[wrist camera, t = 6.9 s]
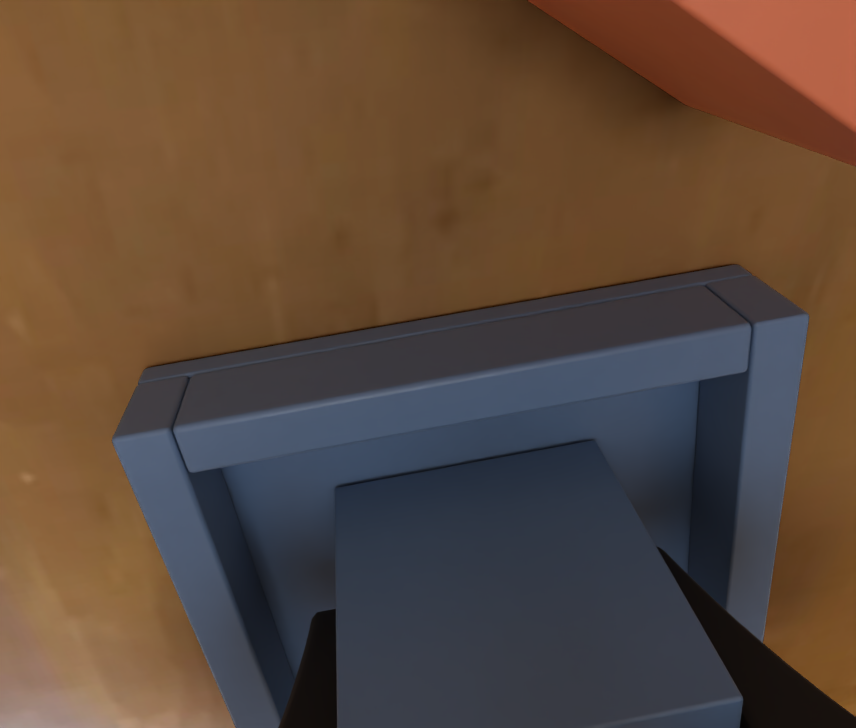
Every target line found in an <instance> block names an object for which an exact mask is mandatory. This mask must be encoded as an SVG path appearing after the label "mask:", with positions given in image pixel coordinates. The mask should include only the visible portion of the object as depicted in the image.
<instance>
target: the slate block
mask: <svg viewBox="0 0 856 728" xmlns="http://www.w3.org/2000/svg"><path fill="white" fill-rule="evenodd" d="M334 495H335V584H336V673H337V728H740V720H741V713H742V705H743V697H742V695H741V693H740V691H739V690H738V688H737V686H736V685H735V683H734V681H733V679H732V678H731V676H730V674H729V672H728V671H727V669H726V667H725V665H724V664H723V662H722V660H721V658H720V657H719V655H718V653H717V651H716V650H715V648H714V646H713V645H712V643H711V641H710V639H709V638H708V636H707V634H706V632H705V631H704V629H703V627H702V625H701V624H700V622H699V620H698V618H697V617H696V615H695V613H694V611H693V610H692V608H691V606H690V604H689V603H688V601H687V599H686V598H685V596H684V594H683V592H682V591H681V589H680V587H679V585H678V584H677V582H676V580H675V578H674V577H673V575H672V573H671V571H670V570H669V568H668V566H667V564H666V563H665V561H664V559H663V558H662V556H661V554H660V552H659V551H658V549H657V547H656V545H655V544H654V542H653V540H652V538H651V537H650V535H649V533H648V531H647V530H646V528H645V526H644V524H643V523H642V521H641V519H640V517H639V516H638V514H637V512H636V511H635V509H634V507H633V505H632V504H631V502H630V500H629V498H628V497H627V495H626V493H625V491H624V490H623V488H622V486H621V484H620V483H619V481H618V479H617V477H616V476H615V474H614V472H613V471H612V469H611V467H610V465H609V464H608V462H607V460H606V458H605V457H604V455H603V453H602V451H601V450H600V448H599V446H598V444H597V443H596V441H594V440H592V441H586V442H581V443H576V444H570V445H565V446H559V447H554V448H549V449H543V450H538V451H532V452H527V453H522V454H516V455H511V456H505V457H500V458H495V459H489V460H484V461H478V462H473V463H468V464H462V465H457V466H451V467H446V468H441V469H435V470H430V471H424V472H419V473H414V474H408V475H403V476H397V477H392V478H387V479H381V480H376V481H370V482H365V483H360V484H354V485H349V486H343V487H338V488H336V489H335V491H334Z"/></svg>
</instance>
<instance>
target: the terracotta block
mask: <svg viewBox="0 0 856 728" xmlns="http://www.w3.org/2000/svg"><path fill="white" fill-rule="evenodd" d="M527 1H529V2H530V3H532V4H533V5H535V6H536V7H538V8H539V9H541V10H542V11H544V12H545V13H547V14H548V15H550V16H552V17H553V18H555V19H556V20H558V21H559V22H561V23H562V24H564V25H565V26H567V27H568V28H570V29H571V30H573V31H574V32H576V33H577V34H579V35H580V36H582V37H583V38H585V39H586V40H588V41H589V42H591V43H592V44H594V45H595V46H597V47H598V48H600V49H601V50H603V51H604V52H606V53H607V54H609V55H610V56H612V57H614V58H615V59H617V60H618V61H620V62H621V63H623V64H624V65H626V66H627V67H629V68H630V69H632V70H633V71H635V72H636V73H638V74H639V75H641V76H642V77H644V78H645V79H647V80H648V81H650V82H651V83H653V84H654V85H656V86H657V87H659V88H660V89H662V90H663V91H665V92H666V93H668V94H669V95H671V96H673V97H674V98H676V99H677V100H679V101H680V102H682V103H683V104H685V105H687V106H689V107H692V108H695V109H698V110H701V111H703V112H706V113H709V114H712V115H714V116H717V117H720V118H723V119H726V120H728V121H731V122H734V123H737V124H739V125H742V126H745V127H748V128H750V129H753V130H756V131H759V132H762V133H764V134H767V135H770V136H773V137H775V138H778V139H781V140H784V141H787V142H789V143H792V144H795V145H798V146H800V147H803V148H806V149H809V150H811V151H814V152H817V153H820V154H823V155H825V156H828V157H831V158H834V159H836V160H839V161H842V162H845V163H847V164H850V165H853V166H856V0H527Z"/></svg>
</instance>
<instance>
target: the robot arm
mask: <svg viewBox="0 0 856 728" xmlns="http://www.w3.org/2000/svg"><path fill="white" fill-rule="evenodd" d="M657 549H658V551H659V552H660V554H661V556H662V558H663V559H664V561H665V563H666V564H667V566H668V568H669V570H670V571H671V573H672V575H673V577H674V578H675V580H676V582H677V584H678V585H679V587H680V589H681V591H682V592H683V594H684V596H685V598H686V599H687V601H688V603H689V604H690V606H691V608H692V610H693V611H694V613H695V615H696V617H697V618H698V620H699V622H700V624H701V625H702V627H703V629H704V631H705V632H706V634H707V636H708V638H709V639H710V641H711V643H712V645H713V646H714V648H715V650H716V651H717V653H718V655H719V657H720V658H721V660H722V662H723V664H724V665H725V667H726V669H727V671H728V672H729V674H730V676H731V678H732V679H733V681H734V683H735V685H736V686H737V688H738V690H739V691H740V693H741V695H742V697H743V705H742V713H741V720H740V728H856V717H855V716H854V715H852V714H851V713H850V712H848V711H847V710H846V709H844V708H843V707H842V706H840V705H839V704H838V703H836V702H835V701H834V700H832V699H831V698H830V697H828V696H827V695H826V694H824V693H823V692H822V691H821V690H819V689H818V688H817V687H816V686H814V685H813V684H812V683H811V682H809V681H808V680H807V679H806V678H804V677H803V676H802V675H801V674H799V673H798V672H797V671H795V670H794V669H793V668H792V667H791V666H789V665H788V664H787V663H786V662H785V661H783V660H782V659H781V658H780V657H779V656H777V655H776V654H775V653H774V652H773V651H771V650H770V649H769V648H768V647H767V646H766V645H765V644H763V643H762V642H761V641H760V640H759V639H758V638H757V637H755V636H754V635H753V634H752V633H751V632H750V631H749V630H747V629H746V628H745V627H744V626H743V625H742V624H740V623H739V622H738V621H737V620H736V619H735V618H734V617H733V616H732V615H731V614H729V613H728V612H727V611H726V610H725V609H724V608H723V607H722V606H721V605H720V604H719V603H718V602H716V601H715V600H714V599H713V598H712V597H711V596H710V595H709V594H708V593H707V592H706V591H705V590H704V589H703V588H702V587H701V586H700V585H698V584H697V583H696V582H695V581H694V580H693V579H692V578H691V577H690V576H689V575H688V574H687V573H686V572H685V571H684V570H683V569H682V568H681V567H680V566H679V565H678V564H677V563H676V562H675V561H674V560H673V559H672V558H671V557H670V556H669V555H668V554H667V553H666V552H665V551H664V550H662V549H661V548H659V547H657ZM279 728H337V673H336V609H332V610H326V611H321V612H317V613H316V614H315V615H314V617H313V618H312V620H311V624H310V629H309V633H308V637H307V641H306V645H305V649H304V652H303V656H302V659H301V663H300V666H299V670H298V673H297V676H296V679H295V682H294V685H293V688H292V691H291V694H290V697H289V700H288V703H287V706H286V708H285V711H284V714H283V717H282V719H281V722H280V725H279Z"/></svg>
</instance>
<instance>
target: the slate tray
mask: <svg viewBox="0 0 856 728" xmlns="http://www.w3.org/2000/svg"><path fill="white" fill-rule="evenodd" d="M808 322H809V315H808V313H807V312H805V311H804V310H802V309H801V308H800V307H798V306H797V305H795V304H794V303H792V302H791V301H790V300H788V299H787V298H785V297H784V296H782V295H781V294H780V293H778V292H777V291H775V290H774V289H773V288H771V287H770V286H768V285H767V284H765V283H764V282H763V281H761V280H760V279H758V278H757V277H755V276H752V274H751V273H750V272H748V271H747V270H745V269H744V268H742V267H741V266H740V265H730V266H725V267H719V268H713V269H708V270H702V271H696V272H691V273H685V274H679V275H673V276H668V277H662V278H656V279H651V280H645V281H639V282H634V283H628V284H622V285H617V286H611V287H605V288H600V289H594V290H588V291H583V292H577V293H571V294H565V295H560V296H554V297H548V298H543V299H537V300H531V301H526V302H520V303H514V304H509V305H503V306H497V307H492V308H486V309H480V310H474V311H469V312H463V313H457V314H452V315H446V316H440V317H435V318H429V319H423V320H418V321H412V322H406V323H401V324H395V325H389V326H384V327H378V328H372V329H366V330H361V331H355V332H349V333H344V334H338V335H332V336H327V337H321V338H315V339H310V340H304V341H298V342H293V343H287V344H281V345H275V346H270V347H264V348H258V349H253V350H247V351H241V352H236V353H230V354H224V355H219V356H213V357H207V358H202V359H196V360H190V361H184V362H179V363H173V364H167V365H162V366H156V367H150V368H146V369H145V370H144V371H143V373H142V375H141V377H140V379H139V381H138V386H137V387H136V389H135V391H134V393H133V395H132V397H131V399H130V401H129V403H128V406H127V408H126V410H125V412H124V414H123V416H122V418H121V420H120V423H119V425H118V427H117V429H116V431H115V433H114V435H113V437H112V443H113V445H114V448H115V450H116V452H117V455H118V457H119V459H120V461H121V464H122V466H123V468H124V471H125V473H126V475H127V478H128V480H129V482H130V485H131V487H132V489H133V491H134V494H135V496H136V498H137V501H138V503H139V505H140V508H141V510H142V512H143V515H144V517H145V519H146V521H147V524H148V526H149V528H150V531H151V533H152V535H153V538H154V540H155V542H156V545H157V547H158V549H159V552H160V554H161V556H162V558H163V561H164V563H165V565H166V568H167V570H168V572H169V575H170V577H171V579H172V582H173V584H174V586H175V588H176V591H177V593H178V595H179V598H180V600H181V602H182V605H183V607H184V609H185V612H186V614H187V616H188V618H189V621H190V623H191V625H192V628H193V630H194V632H195V635H196V637H197V639H198V642H199V644H200V646H201V649H202V651H203V653H204V655H205V658H206V660H207V662H208V665H209V667H210V669H211V672H212V674H213V676H214V679H215V681H216V683H217V685H218V688H219V690H220V692H221V695H222V697H223V699H224V702H225V704H226V706H227V709H228V711H229V713H230V715H231V718H232V720H233V722H234V725H235V727H236V728H279V725H280V722H281V719H282V717H283V714H284V711H285V708H286V706H287V703H288V700H289V697H290V694H291V691H292V688H293V685H294V682H295V679H296V676H297V673H298V670H299V666H300V663H301V659H302V656H303V652H304V649H305V645H306V641H307V637H308V633H309V629H310V624H311V620H312V618H313V617H314V615H315V614H316V613H317V612H321V611H326V610H332V609H336V584H335V495H334V491H335V489H336V488H338V487H343V486H349V485H354V484H360V483H365V482H370V481H376V480H381V479H387V478H392V477H397V476H403V475H408V474H414V473H419V472H424V471H430V470H435V469H441V468H446V467H451V466H457V465H462V464H468V463H473V462H478V461H484V460H489V459H495V458H500V457H505V456H511V455H516V454H522V453H527V452H532V451H538V450H543V449H549V448H554V447H559V446H565V445H570V444H576V443H581V442H586V441H592V440H594V441H596V443H597V444H598V446H599V448H600V450H601V451H602V453H603V455H604V457H605V458H606V460H607V462H608V464H609V465H610V467H611V469H612V471H613V472H614V474H615V476H616V477H617V479H618V481H619V483H620V484H621V486H622V488H623V490H624V491H625V493H626V495H627V497H628V498H629V500H630V502H631V504H632V505H633V507H634V509H635V511H636V512H637V514H638V516H639V517H640V519H641V521H642V523H643V524H644V526H645V528H646V530H647V531H648V533H649V535H650V537H651V538H652V540H653V542H654V544H655V545H656V547H659V548H661V549H662V550H664V551H665V552H666V553H667V554H668V555H669V556H670V557H671V558H672V559H673V560H674V561H675V562H676V563H677V564H678V565H679V566H680V567H681V568H682V569H683V570H684V571H685V572H686V573H687V574H688V575H689V576H690V577H691V578H692V579H693V580H694V581H695V582H696V583H697V584H698V585H700V586H701V587H702V588H703V589H704V590H705V591H706V592H707V593H708V594H709V595H710V596H711V597H712V598H713V599H714V600H715V601H716V602H718V603H719V604H720V605H721V606H722V607H723V608H724V609H725V610H726V611H727V612H728V613H729V614H731V615H732V616H733V617H734V618H735V619H736V620H737V621H738V622H739V623H740V624H742V625H743V626H744V627H745V628H746V629H747V630H749V631H750V632H751V633H752V634H753V635H754V636H755V637H757V638H758V639H759V640H760V641H761V642H762V643H763V638H764V631H765V624H766V617H767V610H768V603H769V596H770V589H771V582H772V575H773V568H774V561H775V554H776V547H777V540H778V533H779V525H780V518H781V511H782V504H783V497H784V490H785V483H786V476H787V469H788V462H789V455H790V448H791V441H792V434H793V427H794V420H795V413H796V406H797V399H798V392H799V385H800V378H801V371H802V364H803V357H804V350H805V343H806V336H807V329H808Z"/></svg>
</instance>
